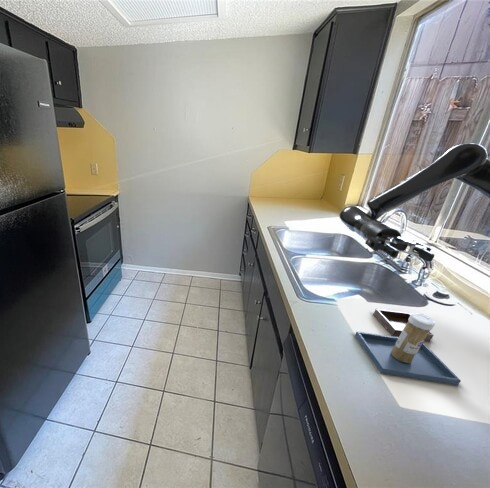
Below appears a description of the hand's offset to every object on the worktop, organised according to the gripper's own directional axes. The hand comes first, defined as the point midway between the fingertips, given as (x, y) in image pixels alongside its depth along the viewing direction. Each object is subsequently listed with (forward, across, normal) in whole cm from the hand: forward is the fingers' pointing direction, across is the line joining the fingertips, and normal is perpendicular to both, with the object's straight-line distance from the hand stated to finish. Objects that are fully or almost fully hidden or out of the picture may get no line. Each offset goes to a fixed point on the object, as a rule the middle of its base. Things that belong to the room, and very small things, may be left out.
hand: (413, 256), depth 69 cm
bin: (-3, +8, +26) cm, 27 cm away
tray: (+11, 0, +26) cm, 28 cm away
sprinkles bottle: (+11, 0, +26) cm, 28 cm away
